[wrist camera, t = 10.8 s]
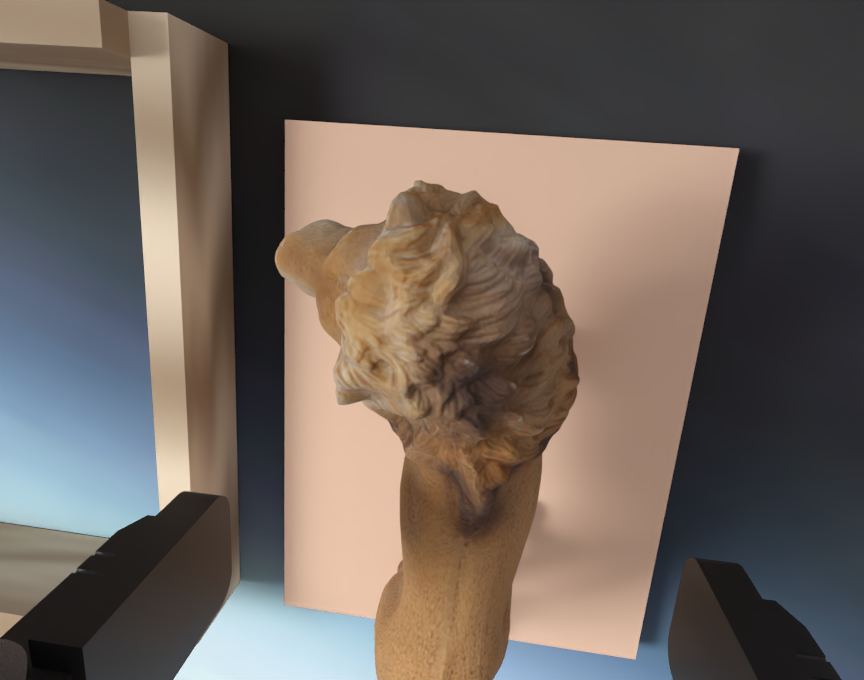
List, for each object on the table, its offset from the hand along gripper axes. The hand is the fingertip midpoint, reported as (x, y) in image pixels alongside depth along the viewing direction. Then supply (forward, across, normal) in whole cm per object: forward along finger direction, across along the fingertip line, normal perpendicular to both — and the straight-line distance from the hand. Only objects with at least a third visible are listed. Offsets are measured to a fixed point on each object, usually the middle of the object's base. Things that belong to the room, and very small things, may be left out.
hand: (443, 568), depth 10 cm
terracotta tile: (+8, 0, 0) cm, 8 cm away
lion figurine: (+8, 0, 0) cm, 8 cm away
